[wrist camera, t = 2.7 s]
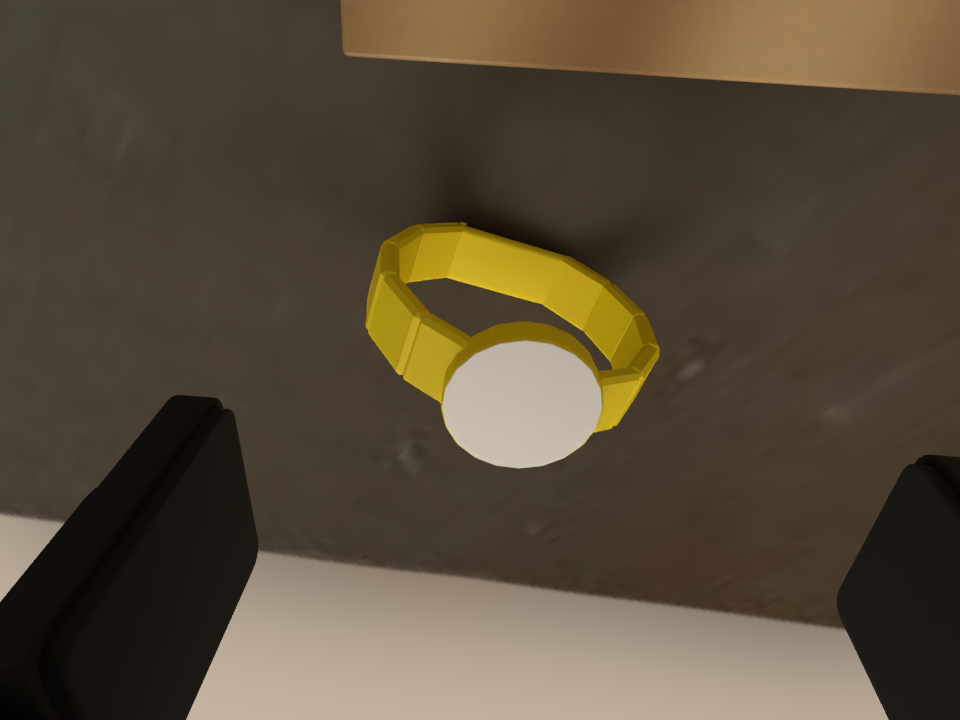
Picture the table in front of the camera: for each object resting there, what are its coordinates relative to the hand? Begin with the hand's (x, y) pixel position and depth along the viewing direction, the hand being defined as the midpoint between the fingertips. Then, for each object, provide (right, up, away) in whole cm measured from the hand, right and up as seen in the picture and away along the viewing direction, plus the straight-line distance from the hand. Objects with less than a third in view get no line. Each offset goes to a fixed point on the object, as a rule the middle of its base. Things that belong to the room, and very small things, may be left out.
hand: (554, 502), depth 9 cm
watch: (0, +5, +7) cm, 8 cm away
